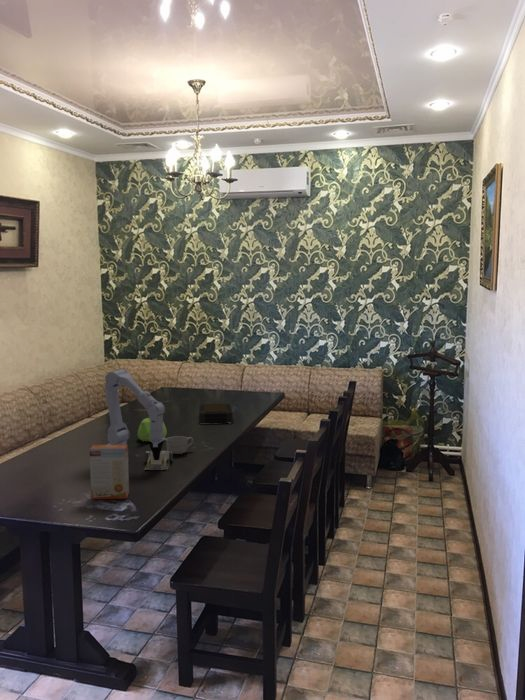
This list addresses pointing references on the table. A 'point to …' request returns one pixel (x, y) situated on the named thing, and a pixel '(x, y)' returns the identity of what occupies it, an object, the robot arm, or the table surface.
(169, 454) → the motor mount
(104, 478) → the cracker box
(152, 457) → the light grey block
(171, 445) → the teacup
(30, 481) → the table surface
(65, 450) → the table surface
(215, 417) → the cash box
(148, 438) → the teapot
